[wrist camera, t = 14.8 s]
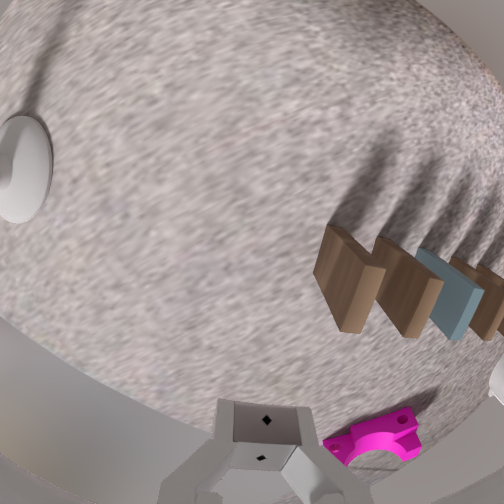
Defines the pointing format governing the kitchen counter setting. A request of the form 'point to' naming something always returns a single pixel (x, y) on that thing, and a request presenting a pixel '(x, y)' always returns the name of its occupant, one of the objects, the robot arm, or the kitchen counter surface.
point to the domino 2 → (405, 288)
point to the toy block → (379, 437)
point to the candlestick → (23, 168)
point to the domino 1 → (347, 278)
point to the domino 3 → (451, 296)
